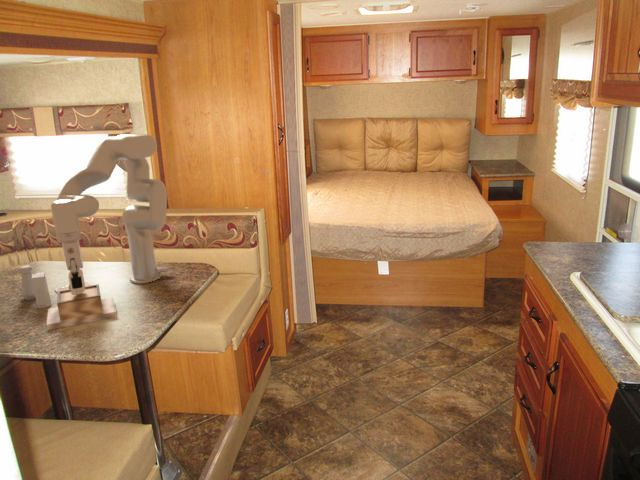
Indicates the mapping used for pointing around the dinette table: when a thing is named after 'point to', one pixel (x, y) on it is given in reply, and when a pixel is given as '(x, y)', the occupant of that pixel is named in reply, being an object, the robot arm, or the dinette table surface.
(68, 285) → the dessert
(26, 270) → the salt shaker
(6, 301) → the dinette table surface
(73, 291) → the eye dropper bottle
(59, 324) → the display plinth
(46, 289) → the skincare box
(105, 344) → the dinette table surface
